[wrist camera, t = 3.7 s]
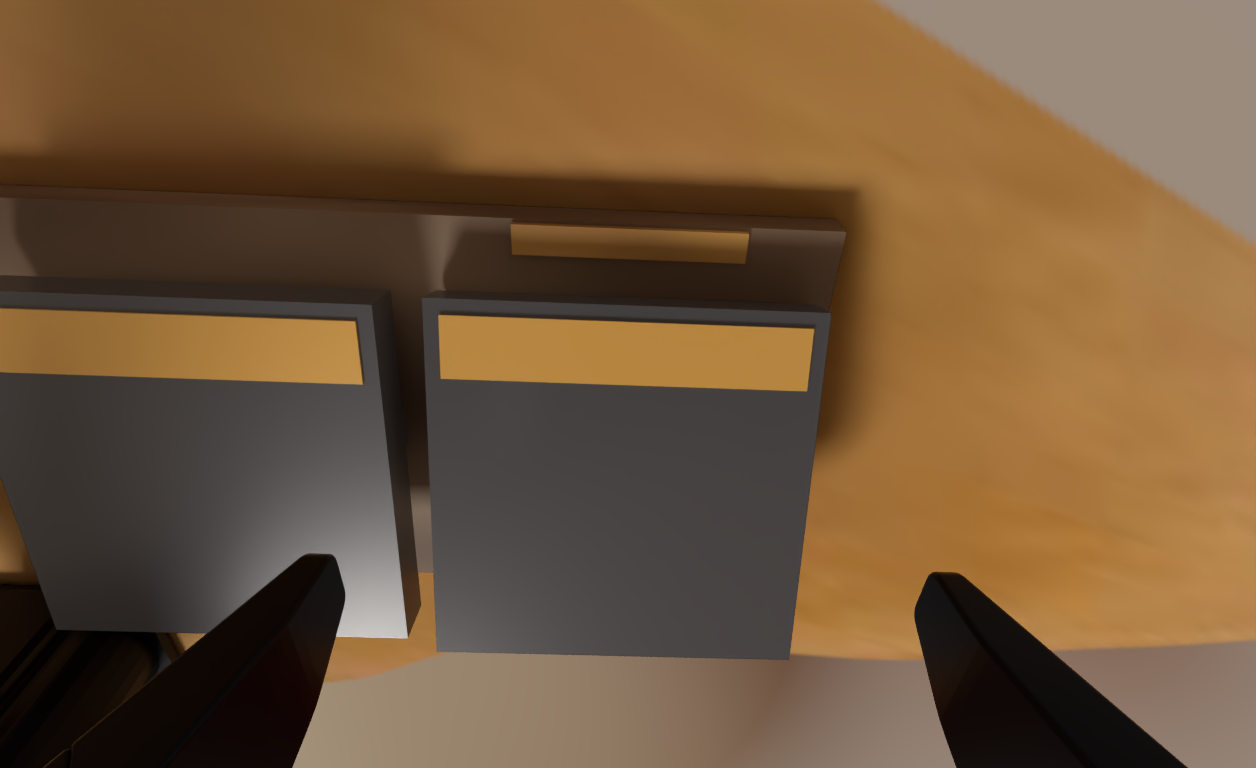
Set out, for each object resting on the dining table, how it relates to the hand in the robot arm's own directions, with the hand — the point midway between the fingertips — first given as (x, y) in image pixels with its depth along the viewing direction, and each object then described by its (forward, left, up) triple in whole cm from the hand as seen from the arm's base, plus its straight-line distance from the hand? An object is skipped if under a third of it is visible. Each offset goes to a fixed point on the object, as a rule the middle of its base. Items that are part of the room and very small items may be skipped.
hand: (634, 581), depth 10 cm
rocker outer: (-4, 0, -7) cm, 8 cm away
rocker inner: (-4, +11, -7) cm, 14 cm away
